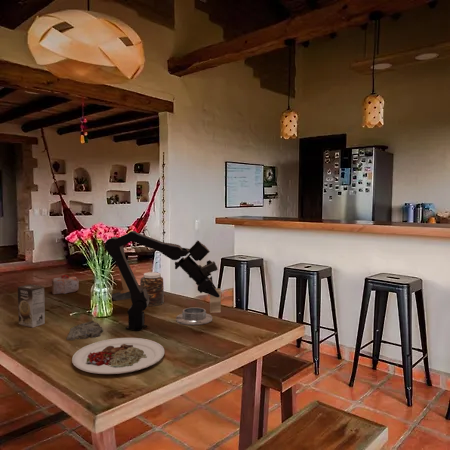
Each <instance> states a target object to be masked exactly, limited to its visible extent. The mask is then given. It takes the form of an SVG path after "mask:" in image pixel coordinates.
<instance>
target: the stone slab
mask: <svg viewBox="0 0 450 450" xmlns="http://www.w3.org/2000/svg"><path fill="white" fill-rule="evenodd" d="M103 331H104V329H103V327H102V326H101V325H100V324H99V323H97V322H95V321H94V320H91V321H86V322H83V323H81V324H77V325H76V326H75V325H74V326H73V327H71V328H70V329H69V333H67V335H66V336H67V337H65V338H66V341H76V340H75V339H77V340H83V339H88V338H89V337H90V338H91V339H93V338H98V337H101V333H102V332H103ZM79 338H80V339H79Z"/></svg>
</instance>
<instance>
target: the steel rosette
mask: <svg viewBox="0 0 450 450" xmlns="http://www.w3.org/2000/svg"><path fill="white" fill-rule="evenodd" d="M175 321H176V322H177V323H178V324H180V325H185V326H201V325H206V324H209V323H211V322H212V321H213V315H211V313H207V310H206V309H205V308H203V307H198V306H197V307H194V306H193V307H187V308H186V307H185V308H184V309H182V313H180V314H178V315H176V317H175Z"/></svg>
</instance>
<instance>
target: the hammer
mask: <svg viewBox="0 0 450 450" xmlns="http://www.w3.org/2000/svg"><path fill="white" fill-rule="evenodd" d="M118 271H119V272H118V273H119V276H120V282H121V285H122V289H121V291H119V292H115V293H111V294H112V298H113V299H112V298H111V299H112V300H114V301H122V300H127V299H128V300H129V299H130V300H131V295H130V291H129V289H128V287H127V285H126V282H125V280H124V278H123V276H122V274H121V272H120V270H119V269H118Z"/></svg>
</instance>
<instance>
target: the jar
mask: <svg viewBox="0 0 450 450" xmlns="http://www.w3.org/2000/svg"><path fill="white" fill-rule="evenodd" d="M139 282H140V283H139V284H140V285H139V287H140V288H141V289H142V290H144V289H146V291H147V294H148V295H149V296H150V297H149V304H148V306H147V307H157V306H161V305H163V304H164V302H165V301H164V290H165V289H164V278H163V277H162V276H161V273H160V272H152V271H149V272H144V273H143V276H142V277H141V278H140V281H139Z"/></svg>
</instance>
